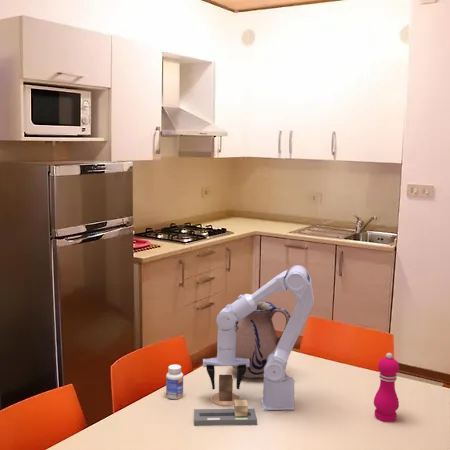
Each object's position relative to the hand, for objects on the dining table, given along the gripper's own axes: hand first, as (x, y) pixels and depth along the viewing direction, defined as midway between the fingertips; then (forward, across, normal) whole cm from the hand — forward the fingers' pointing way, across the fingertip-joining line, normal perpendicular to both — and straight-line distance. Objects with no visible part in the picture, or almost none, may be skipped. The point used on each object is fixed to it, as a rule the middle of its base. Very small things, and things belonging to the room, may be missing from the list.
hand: (225, 388), depth 180 cm
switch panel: (+4, +1, +13) cm, 14 cm away
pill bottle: (+4, +16, -3) cm, 17 cm away
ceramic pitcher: (+4, -13, -20) cm, 24 cm away
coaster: (+4, 0, 0) cm, 4 cm away
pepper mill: (+4, -47, +13) cm, 49 cm away
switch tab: (+2, -4, +13) cm, 14 cm away
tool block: (+3, 0, 0) cm, 3 cm away
